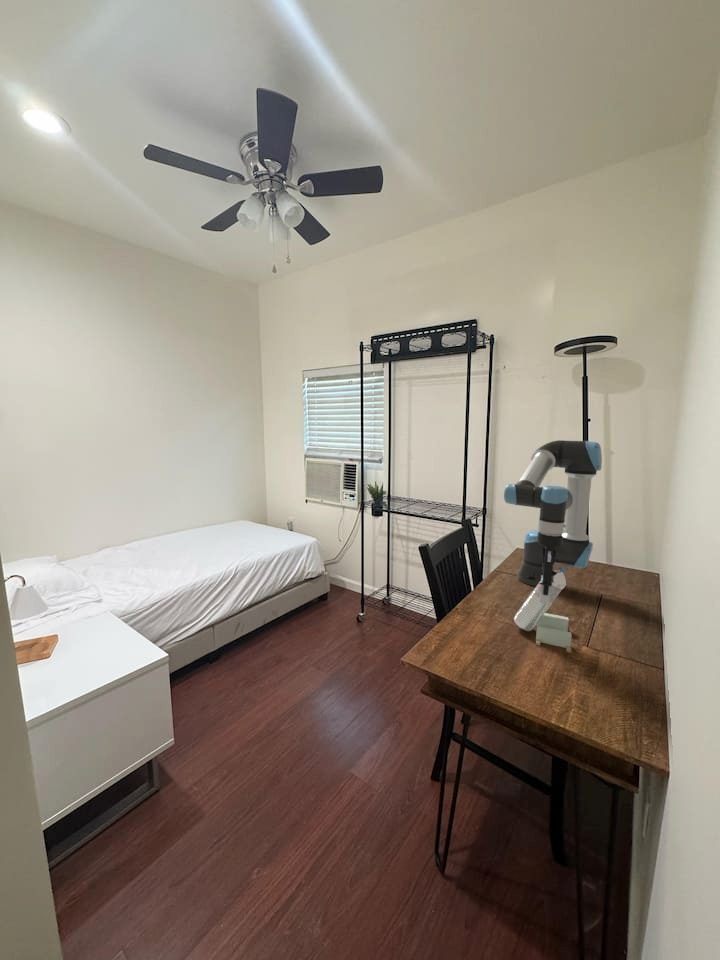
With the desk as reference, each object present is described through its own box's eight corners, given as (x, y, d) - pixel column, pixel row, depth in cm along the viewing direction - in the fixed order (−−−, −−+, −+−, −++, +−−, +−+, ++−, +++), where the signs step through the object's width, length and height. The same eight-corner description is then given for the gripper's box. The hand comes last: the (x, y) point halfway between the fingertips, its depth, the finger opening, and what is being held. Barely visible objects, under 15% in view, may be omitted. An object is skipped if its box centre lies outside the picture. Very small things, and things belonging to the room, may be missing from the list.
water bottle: (532, 635, 130) (575, 578, 122) (513, 625, 131) (555, 568, 123) (529, 624, 136) (570, 569, 128) (511, 614, 137) (551, 559, 129)
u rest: (536, 644, 124) (537, 631, 123) (535, 620, 140) (536, 608, 139) (570, 652, 120) (572, 639, 119) (566, 626, 136) (567, 614, 135)
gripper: (565, 542, 116) (558, 613, 119) (561, 527, 133) (555, 589, 137) (538, 539, 119) (531, 608, 122) (538, 524, 136) (532, 585, 140)
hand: (544, 598), depth 129 cm, fingers closed on water bottle, 7 cm apart
